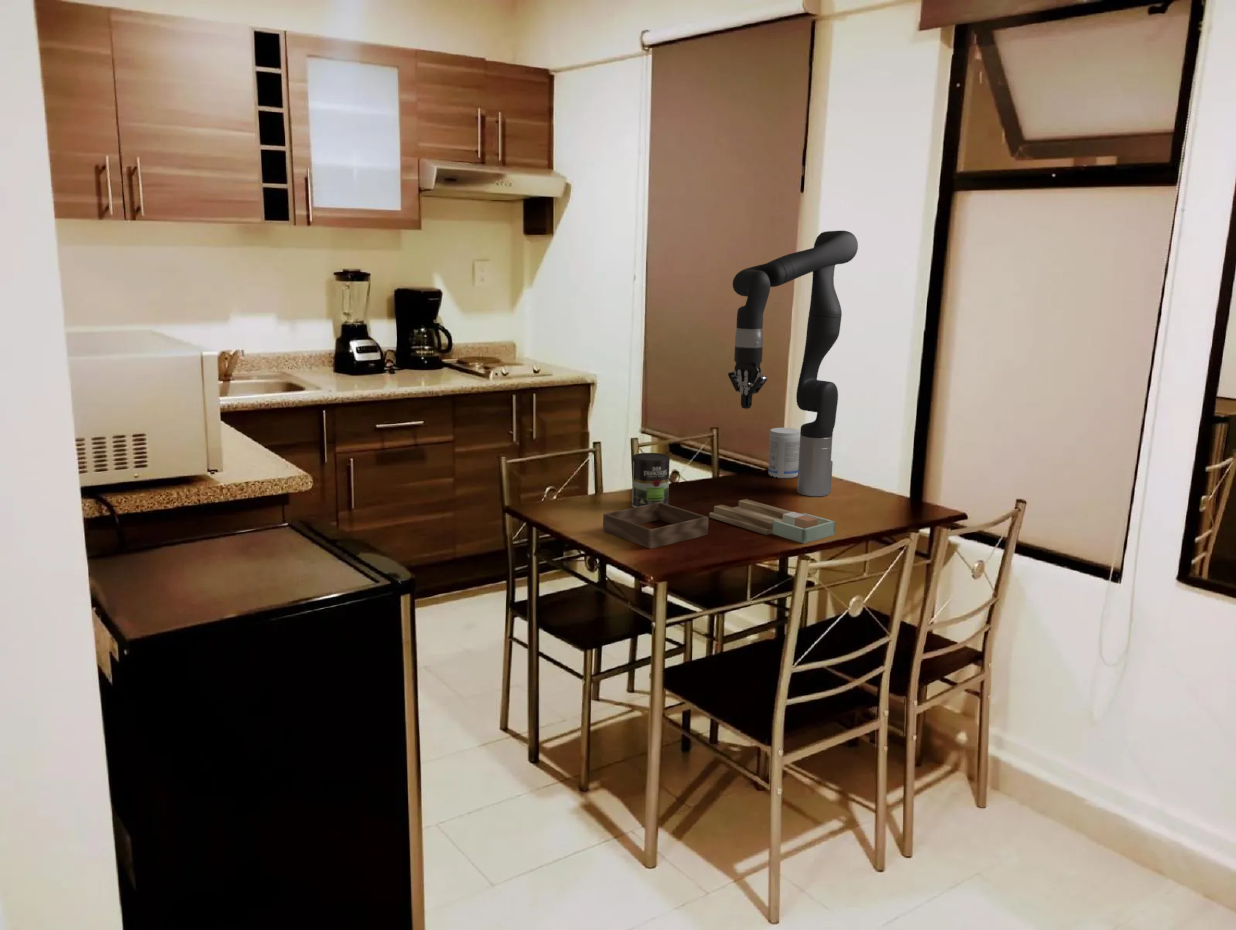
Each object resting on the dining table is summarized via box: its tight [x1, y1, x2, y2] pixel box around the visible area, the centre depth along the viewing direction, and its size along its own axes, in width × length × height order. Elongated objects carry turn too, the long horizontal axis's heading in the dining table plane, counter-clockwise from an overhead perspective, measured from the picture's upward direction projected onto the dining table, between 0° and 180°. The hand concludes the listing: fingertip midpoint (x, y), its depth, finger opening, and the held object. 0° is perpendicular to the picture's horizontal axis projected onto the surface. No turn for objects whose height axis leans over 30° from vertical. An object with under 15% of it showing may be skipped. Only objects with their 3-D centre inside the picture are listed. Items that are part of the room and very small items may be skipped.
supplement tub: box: [767, 427, 801, 479], centre depth 298 cm, size 10×10×15 cm
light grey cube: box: [782, 511, 804, 526], centre depth 239 cm, size 4×4×4 cm
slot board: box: [708, 498, 792, 535], centre depth 249 cm, size 16×20×3 cm
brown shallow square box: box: [602, 502, 710, 549], centre depth 236 cm, size 19×18×4 cm
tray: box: [772, 512, 837, 544], centre depth 237 cm, size 12×10×3 cm
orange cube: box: [795, 515, 818, 529], centre depth 236 cm, size 4×4×4 cm
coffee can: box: [631, 452, 671, 508], centre depth 260 cm, size 10×10×14 cm
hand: (746, 408), depth 260 cm, fingers closed
